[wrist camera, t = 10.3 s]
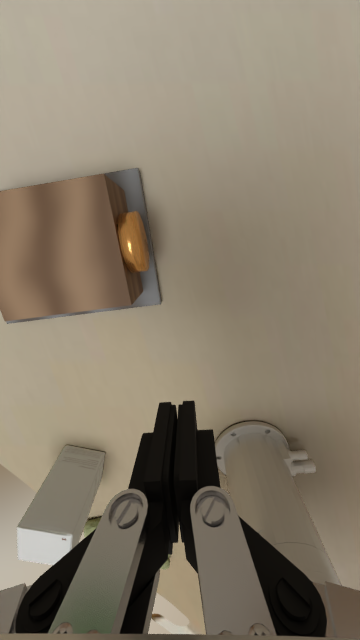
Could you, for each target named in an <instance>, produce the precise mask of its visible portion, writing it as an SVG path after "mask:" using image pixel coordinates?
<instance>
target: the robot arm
mask: <svg viewBox="0 0 360 640" xmlns="http://www.w3.org/2000/svg"><path fill="white" fill-rule="evenodd" d="M293 460H298V461H293ZM218 468H219V469H220V471H221V472H223V473H224V474H225V475H227V481H228V487H229V493H230V495H229V494H228V493H227V492H226V491H225V490H223V489H221V488H220V481H219V473H218ZM296 473H316V468H315V464H314V462H313V461H312V459H308V456H307V453H306V451H305V450H296V451H290V450H289V445H288V443H287V441H286V438H285V437H284V435H283V434H282V433H281V432H280V431H279V430H278V429H277V428H275V427H274V426H272V425H270V424H267V423H263V422H257V421H249V422H242V423H238V424H236V425H233V426H231V427H229V428H228V429H226V430H225V431H224V432H223V433H222V434H221V435H220V436H219V437H218V439H217V440H216V443H215V442H214V434H213V430H197V423H196V412H195V402H194V401H183V405H179V407H178V420H177V412H176V405H172V404H171V402H163V403H159V407H158V412H157V417H156V422H155V427H154V432H153V433H143V435H142V438H141V442H140V446H139V449H138V453H137V457H136V461H135V465H134V469H133V472H132V476H131V480H130V484H129V488H128V489H127V490H124V491H121V492H120V493H118V494H117V495H115V496H114V497H113V498H112V499H111V500H110V502H109V504H108V505H107V507H106V509H105V511H104V513H103V515H102V517H101V520H100V522H99V524H98V526H97V528H96V529H95V530H94V531H92V532H91V533H90V534H89V535H88V536H87V537H86V538H84V539H83V540H82V541H81V542H80V543H79V544H77V545H76V546H75V547H74V548H73V549H72V550H70V551H69V552H68V553H67V554H66V555H65V556H63V557H62V558H61V559H60V560H59V561H58V562H56V563H55V564H54V565H53V566H52V567H51V568H50V569H49V570H47V571H46V572H45V573H44V574H43V575H41V576H40V577H39V578H38V579H37V580H36V582H34V583H33V585H31V586H27V587H26V584H25V583H24V584H20V585H17V586H14V587H11V588H8V589H4V590H1V591H0V640H360V591H358V590H355V589H351V588H348V587H344V586H342V585H341V582H340V580H339V578H338V576H337V574H336V572H335V569H334V567H333V565H332V563H331V561H330V558H329V556H328V554H327V552H326V550H325V548H324V545H323V543H322V541H321V539H320V537H319V534H318V532H317V530H316V528H315V525H314V523H313V521H312V519H311V517H310V514H309V512H308V510H307V508H306V506H305V503H304V501H303V499H302V497H301V494H300V492H299V490H298V488H297V486H296V483H295V481H294V479H293V476H296ZM179 525H180V532H181V539H182V542H184V545H185V552H186V559H187V560H188V562H189V563H190V564H191V566H192V567H193V568H194V569H195V571H196V572H197V573H198V579H199V586H200V593H201V601H202V608H203V615H204V623H205V630H206V635H191V634H148V631H149V626H150V620H151V616H152V611H153V606H154V601H155V596H156V591H157V587H158V582H159V576H160V568H161V567H162V566H163V564H164V563H165V562H166V561H167V560H168V554H172V547H173V543H178V531H179Z"/></svg>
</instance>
